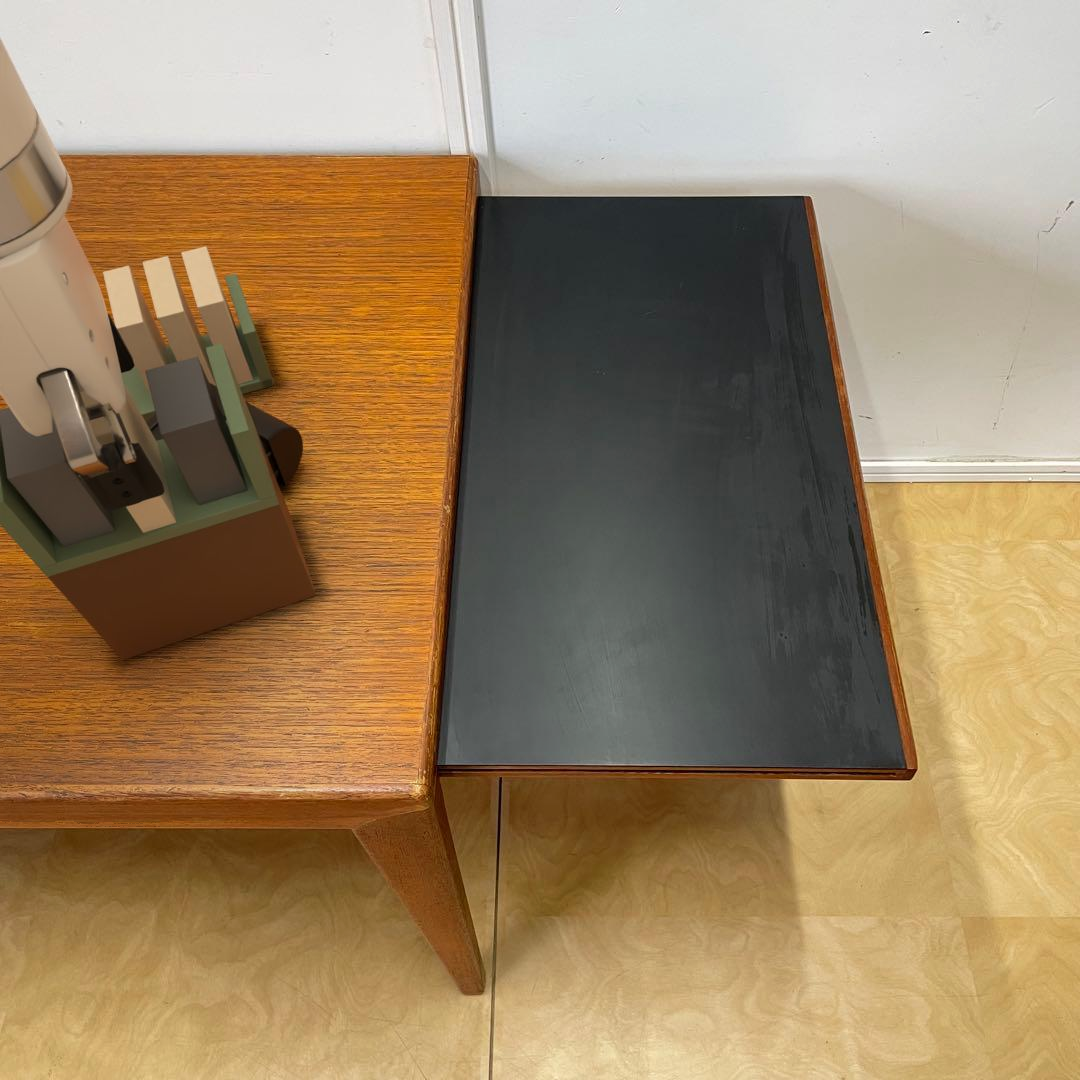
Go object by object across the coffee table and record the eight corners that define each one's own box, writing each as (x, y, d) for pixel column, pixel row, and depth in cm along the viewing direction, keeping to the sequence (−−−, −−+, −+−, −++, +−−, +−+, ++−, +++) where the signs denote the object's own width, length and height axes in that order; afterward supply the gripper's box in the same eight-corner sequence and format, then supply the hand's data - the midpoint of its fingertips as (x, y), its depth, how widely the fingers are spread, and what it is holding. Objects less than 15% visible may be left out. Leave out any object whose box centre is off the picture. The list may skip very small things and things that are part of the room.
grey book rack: (122, 660, 65) (-22, 501, 48) (107, 580, 68) (-33, 404, 51) (316, 595, 68) (246, 423, 51) (292, 521, 71) (219, 337, 54)
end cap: (312, 465, 74) (295, 411, 68) (254, 529, 71) (230, 477, 65) (217, 414, 76) (192, 358, 71) (157, 473, 73) (126, 419, 67)
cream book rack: (81, 440, 75) (24, 355, 66) (69, 379, 78) (14, 291, 70) (274, 385, 78) (244, 297, 70) (255, 329, 81) (224, 239, 73)
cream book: (143, 533, 55) (81, 440, 47) (125, 452, 58) (64, 353, 50) (176, 522, 55) (120, 429, 48) (157, 443, 58) (102, 343, 51)
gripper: (-140, 79, 41) (35, 346, 56) (-128, 346, 33) (74, 577, 48) (33, 44, 43) (160, 313, 57) (87, 291, 34) (219, 531, 49)
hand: (121, 432), depth 52 cm, fingers open, 9 cm apart
